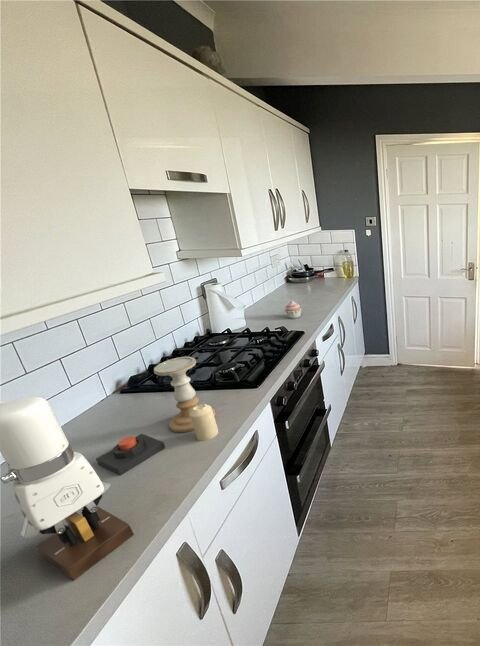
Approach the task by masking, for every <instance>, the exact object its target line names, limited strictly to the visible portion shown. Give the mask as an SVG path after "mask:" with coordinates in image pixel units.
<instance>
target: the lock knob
mask: <svg viewBox="0 0 480 646" xmlns="http://www.w3.org/2000/svg"><path fill="white" fill-rule="evenodd" d="M64 520H65V522H66V524H67V525H68V526H69V527H70V529H71V530H72V532H73V534H74V535H76V536H77V537H79V538H80V539H82V540H83V541H85V542H86V541H87V540H88V539H90V538H91V537H93V536H94V534H93V532H92V530H91V528H90V526H89V525H88V523H87V521H86V519H85V517H83V515H82V514H80V513H79V512H78V511H76V512H75V513H73V514H71V515H70V516H68V517H67V518H65V519H64Z"/></svg>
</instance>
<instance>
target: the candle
mask: <svg viewBox="0 0 480 646" xmlns="http://www.w3.org/2000/svg"><path fill="white" fill-rule="evenodd" d="M212 408H213V407H212V406H211V405H209V404H206V403H201V404H198V406H197V407H195V408H193V409H192V410H191V412H190V413H189V415H190V418H191V421H192V424H193V427H194V430H193V431H194V433H195V436H196V437H195V438H196V439H197V440H198V441H200V442H205V441H209V440H211V439H213V438H215V437H216V436H217V435H218V434H219V429H218V424H217V422H216V416H215V417H214V414H213V411H212Z"/></svg>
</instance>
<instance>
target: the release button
mask: <svg viewBox="0 0 480 646" xmlns="http://www.w3.org/2000/svg"><path fill="white" fill-rule="evenodd" d="M135 437H136V436H133V435H131V436H130V435H129V436H127V437H124V438H122V439H121V440H119V441H118V442H117V444H118V445H119V448H120V450H126V449H129V448H132V447H133V446H135V445H136V444H137V441H136V439H135Z"/></svg>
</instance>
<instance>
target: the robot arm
mask: <svg viewBox="0 0 480 646" xmlns="http://www.w3.org/2000/svg"><path fill="white" fill-rule="evenodd" d="M0 455H2V457H3V459H4V461H5V463H6V464H7V468H8V470H7V472H6V473H5V474H4V475H2V476H0V481H1V482H2V483H3V484H4V485H6V484H8V483H10V482H12V488H13V494H14V497H15V500H16V502H17V504H18V507H19V510H20V512H21V514H22V516H23V518H24V520H23V524H22V528H21V532H20V537H22V538H23V539H24V540H27V539H31V538H34V537H39V535H50V534H51V535H53V534H55V533H57V535H58V537H59V539H60V540H61V542H62V543H64V544H66V543H67V542H69V543H70V544H72V545H73V546H74V545H75V544H77V542H78V541H77V539H76V538H75V536H74V534H73V532H72V530H71V529H70V528H69V527H67V525H66V524H65V523H64V520H65V518H67V517H68V516H70V515H71V514H73V513H75V512H78V511H80V510H81V512H80V513H81V515H82V516H83V517H85V519H86V521H87V523H88V525H89V526H90V527H92V528H93V529H95V530H96V529H98V528H100V526H99V524H98V521H100V518H99V516H98V514H97V512H96V510H97V508H98V507H99V506H98V505H99V503H100V501H101V499H102V498H103V495H105V494H106V492H107V491H108V490H109V489H110V488H111V486H112V484H111V483H109V482H107V481H105V480H102V479H101V478H100V477H99V475H98V474H97V472H96V470H95V469H94V467H93V466H92V465H91V463H90V462H89V461H88V460H87V458H86V457H85V456H84V455H83V454H82V453H80V452H77V451H73V449H72V447H71V445H70V443H69V440H68V438H67V437H66V434H65V433H64V430H63V428H62V427H61V424H60V422H59V420H58V419H57V416H56V414H55V412H54V410H53V408H52V406H51V405H50V403H49V402H48V400H47V399H45V398H43V397H40V396H27V397H24V398H18V399H15V400H14V399H13V400H0ZM97 506H98V507H97Z"/></svg>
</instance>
